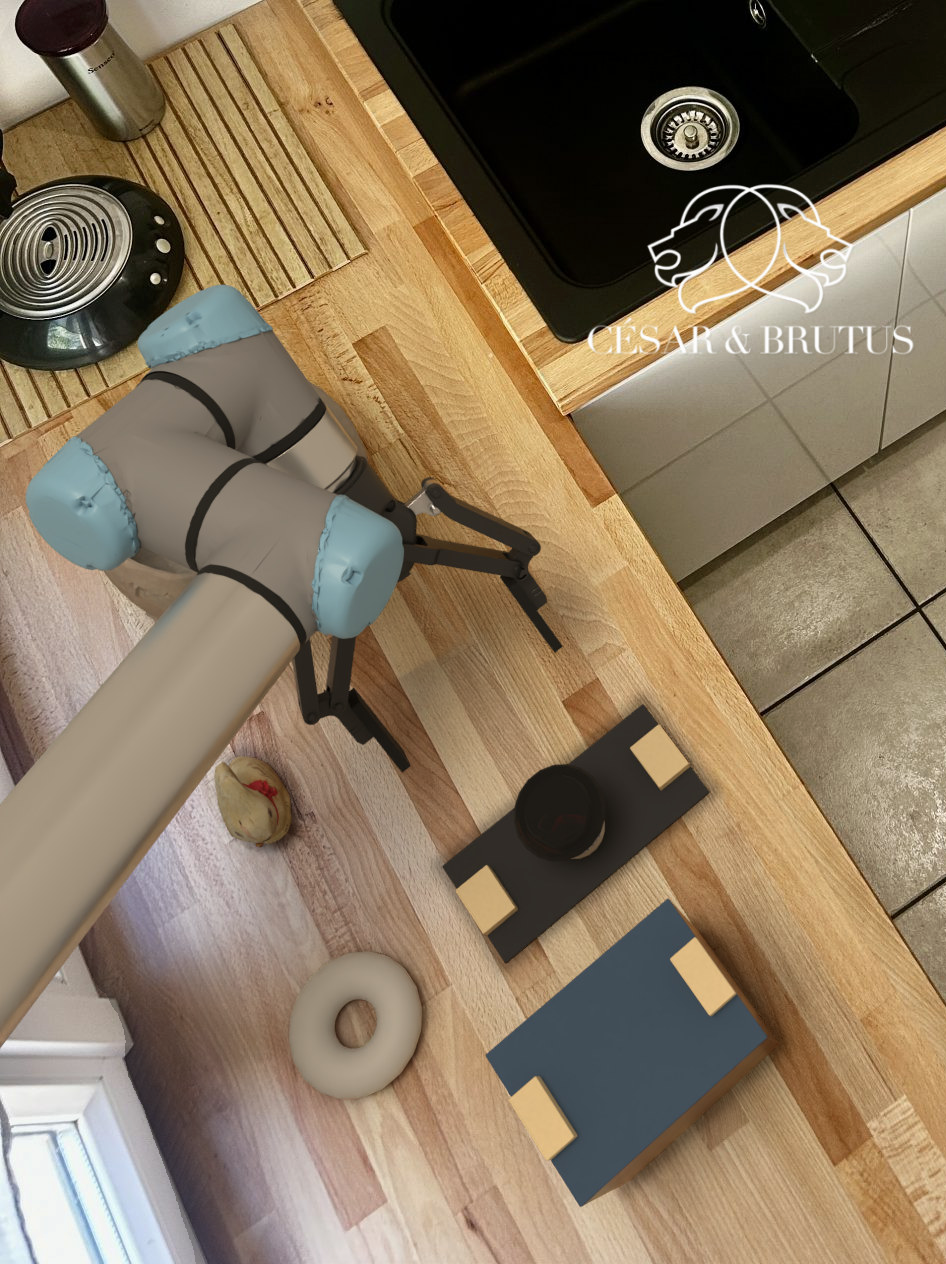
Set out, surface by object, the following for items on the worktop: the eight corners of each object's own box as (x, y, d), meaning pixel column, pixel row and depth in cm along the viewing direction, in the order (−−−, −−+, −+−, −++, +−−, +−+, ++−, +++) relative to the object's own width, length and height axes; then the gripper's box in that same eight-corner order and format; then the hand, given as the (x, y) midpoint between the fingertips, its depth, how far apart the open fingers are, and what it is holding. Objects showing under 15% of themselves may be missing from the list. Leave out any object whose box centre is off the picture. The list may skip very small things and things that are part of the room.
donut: (434, 1081, 111) (419, 938, 116) (423, 1082, 108) (408, 935, 113) (301, 1113, 111) (292, 968, 115) (286, 1115, 107) (277, 966, 112)
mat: (506, 963, 115) (501, 962, 113) (443, 866, 118) (437, 863, 116) (709, 792, 120) (707, 788, 118) (643, 704, 124) (640, 699, 122)
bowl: (87, 516, 134) (6, 456, 121) (296, 358, 141) (241, 285, 127) (223, 708, 125) (152, 665, 112) (440, 530, 132) (397, 469, 119)
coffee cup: (518, 811, 119) (494, 790, 111) (595, 766, 121) (577, 742, 112) (556, 892, 116) (534, 877, 108) (635, 845, 118) (619, 827, 109)
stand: (630, 1181, 107) (581, 1207, 86) (551, 1058, 111) (486, 1055, 90) (779, 1044, 111) (768, 1037, 90) (698, 930, 115) (668, 898, 94)
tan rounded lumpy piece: (228, 860, 119) (180, 843, 110) (228, 760, 123) (182, 736, 114) (296, 847, 119) (254, 830, 111) (294, 748, 123) (253, 723, 114)
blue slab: (581, 1207, 86) (576, 1209, 85) (486, 1055, 90) (479, 1054, 89) (768, 1037, 90) (766, 1036, 88) (668, 898, 94) (665, 895, 92)
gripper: (452, 368, 110) (598, 580, 117) (154, 579, 103) (329, 789, 111) (476, 390, 103) (630, 613, 110) (160, 616, 97) (345, 838, 104)
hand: (480, 701), depth 111 cm, fingers open, 13 cm apart
